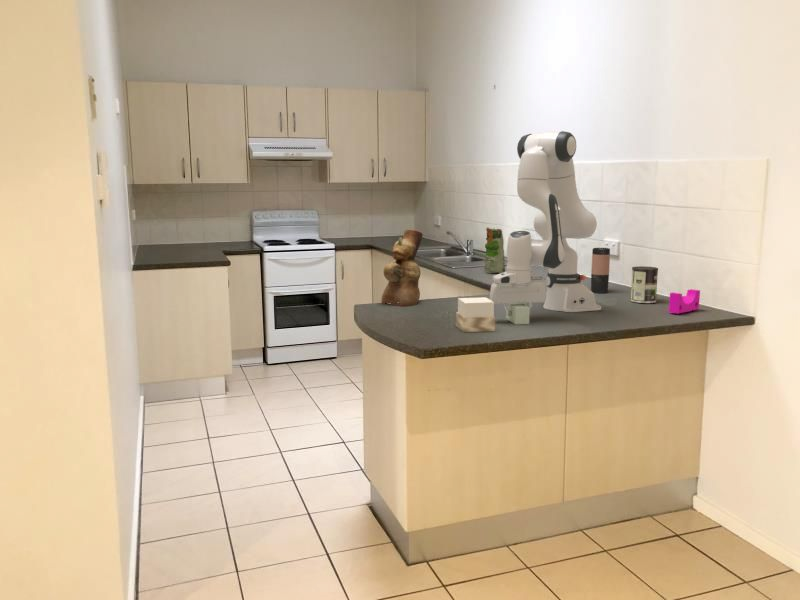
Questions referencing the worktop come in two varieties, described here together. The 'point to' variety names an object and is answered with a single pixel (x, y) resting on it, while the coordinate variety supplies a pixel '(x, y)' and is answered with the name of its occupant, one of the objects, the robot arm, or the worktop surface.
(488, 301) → the tower top
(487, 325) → the tower base
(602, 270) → the travel mug
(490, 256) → the pouch
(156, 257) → the worktop surface
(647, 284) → the coffee can
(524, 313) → the green bar
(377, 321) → the worktop surface
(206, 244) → the worktop surface
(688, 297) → the toy block
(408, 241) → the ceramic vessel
